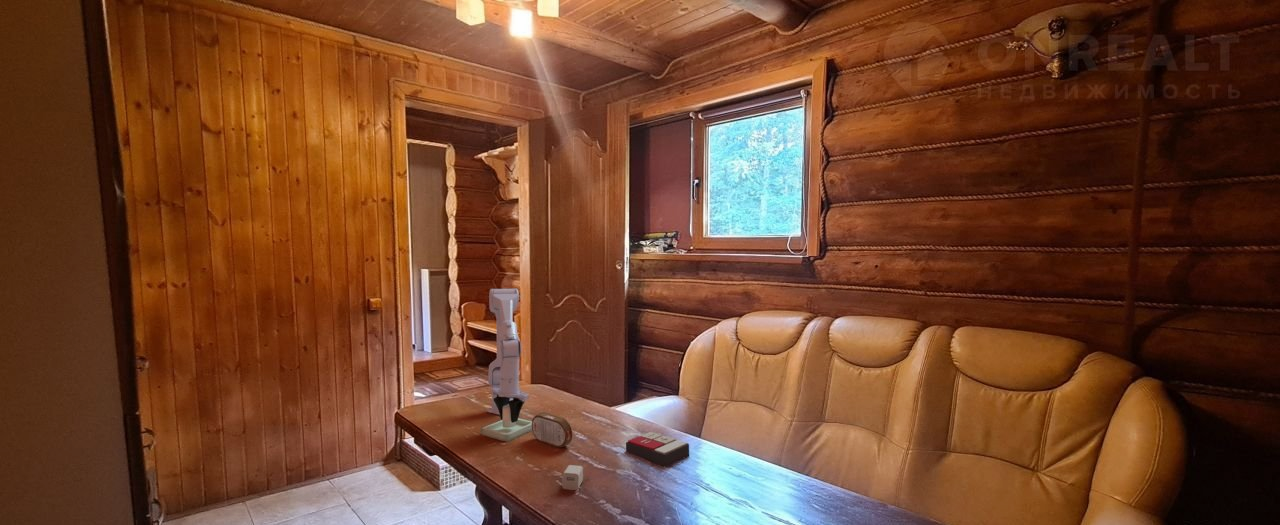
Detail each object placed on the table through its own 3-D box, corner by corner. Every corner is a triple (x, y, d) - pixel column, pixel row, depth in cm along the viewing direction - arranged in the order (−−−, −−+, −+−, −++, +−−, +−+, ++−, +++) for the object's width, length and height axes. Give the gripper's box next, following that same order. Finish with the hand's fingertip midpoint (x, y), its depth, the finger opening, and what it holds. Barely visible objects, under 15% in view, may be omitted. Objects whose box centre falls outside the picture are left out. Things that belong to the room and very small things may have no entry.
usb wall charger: (562, 488, 117) (562, 472, 117) (570, 476, 124) (570, 460, 124) (578, 490, 116) (578, 473, 116) (585, 477, 123) (585, 461, 123)
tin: (573, 448, 142) (573, 419, 142) (565, 451, 139) (565, 422, 139) (537, 436, 150) (537, 409, 150) (529, 439, 148) (529, 412, 148)
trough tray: (511, 422, 162) (511, 416, 162) (536, 428, 157) (536, 422, 157) (480, 434, 151) (480, 428, 151) (506, 441, 145) (506, 435, 145)
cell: (508, 422, 156) (509, 402, 156) (518, 424, 154) (518, 404, 154) (499, 426, 153) (499, 405, 153) (509, 428, 151) (509, 407, 151)
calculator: (650, 430, 148) (689, 441, 138) (650, 444, 148) (690, 456, 138) (625, 439, 140) (664, 452, 130) (625, 454, 140) (665, 468, 130)
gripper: (483, 377, 154) (483, 419, 154) (517, 383, 146) (517, 428, 147) (500, 372, 160) (499, 413, 160) (533, 378, 153) (533, 421, 153)
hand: (509, 420), depth 154 cm, fingers closed on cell, 4 cm apart
